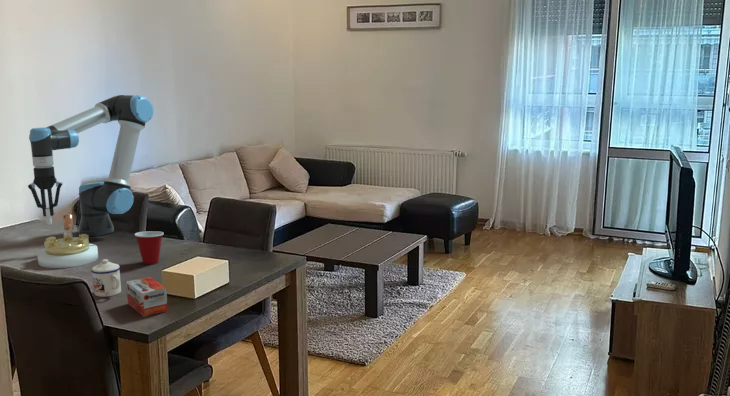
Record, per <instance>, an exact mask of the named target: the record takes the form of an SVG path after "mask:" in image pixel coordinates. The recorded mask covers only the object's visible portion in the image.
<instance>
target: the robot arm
mask: <svg viewBox="0 0 730 396" xmlns="http://www.w3.org/2000/svg"><path fill="white" fill-rule="evenodd" d="M153 116H154V106H153V103H152V102H151V100H150V99H149V98H148V97H146V96H145V95H144V96H143V95H138V94H133V95H128V94H119V95H118V94H117V95H114V96H111V97H109V98H107V99H105V100H102V101H100V102H98V103H95V105H94V107H91V108H89V109H86V110H84V111H81V112H79V113H77V114H74V115H73V116H70V117H67V118H65V119H63V120H61V121H58V122H56V123H54V124H51V125H49V126H46V127H34V128H31V129H30V130H29V136H28V139H29V143H30V150H31V159H32V166H33V180H32V181H33V182H31V183H29V184H28V185H27V187H28V189H29V190H30V192H31V194H32V196H33V199H34V202H35V204H36V208H40V209H41V210H42V216H43V217H45V218H46V225H47V226H48V225H52V224H53V223H52V222H53V221H52V217H54V215H55V213H54V208H55V207H57V206H58V205H59V204H58V203H59V199H60V192H61V188H62V186H63V185H64V183H63V182H62V181H59V180H57V177H56V175H55V167H54V153H53V151H58V150H66V149H68V150H69V149H73V148H76V147H78V145H79V143H80V137H79V133H81V132H84V131H87V130H88V129H91V128H93V127H95V126H97V125H100V124H108V123H110V122H114V121H117V123H118V124H119V125H120V126H119V131H118V136H117V141H116V143H115V149H114V154H113V158H112V161H111V165H110V170H109V174H108V178H106V179H104V180H103V181H96V182H95V181H94V182H90V183H84V184H80V185H79V187H78V197H79V206H80V216H81V217H80V221H79V225H78V236H79V235H82V234H87V235H88V237H98V236H103V235H104V236H105V235H109V234H111V233H113V232H114V231H115V227H114V224H113V222H112V220H111V217H110V215H109V214H112V215H122V214H125V213H126V212H128V211H129V210H130V209H131V207H132V206H133V204H134V197H135V196H134V195H133V192H132V191H131V188H132V185H131V184H130V181H129V180H130V177H131V173H132V168H133V163H134V160H135V159H134V158H135V155H136V150H137V147H138V142H139V137H140V132H141V131H142V130H144V129H145V126H146V123H148V122H150V120H151V119H152V118H153ZM54 185H55V187H56V189H55V195H54V202H53V192H52V188H54ZM36 187H37V188H38V189H39V190H40V198H39V195H38V193H37V191H36V190H37V189H36ZM46 191H47V198H48V199H47V200H48V207H47V200H46V193H45V192H46ZM40 199H41V200H40Z"/></svg>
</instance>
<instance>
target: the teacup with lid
mask: <svg viewBox="0 0 730 396" xmlns="http://www.w3.org/2000/svg"><path fill="white" fill-rule="evenodd" d="M120 269H121V267H120V265H119V264H118V263H114V262H111V261H109V260H108V259H107V258H106V259H102V260H101V262H100V263H98V264H97V265H94V266H93V267H92V268H91V271H90V272H91V275H92V283H93V294H94V295H95V296H96V297H99V298H100V297H102V298H103V297H104V298H105V297H108V298H109V297H112V296H116V295H118V294H120V293H121V292H122V283H121V272H120Z"/></svg>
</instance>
